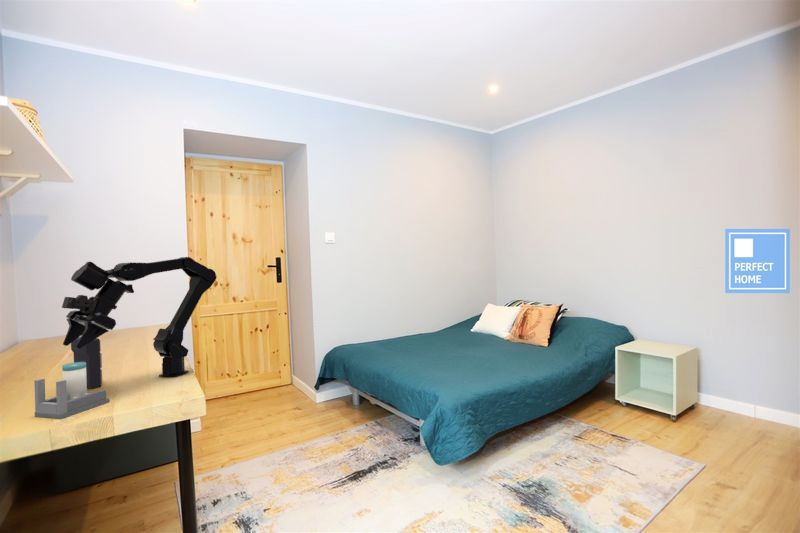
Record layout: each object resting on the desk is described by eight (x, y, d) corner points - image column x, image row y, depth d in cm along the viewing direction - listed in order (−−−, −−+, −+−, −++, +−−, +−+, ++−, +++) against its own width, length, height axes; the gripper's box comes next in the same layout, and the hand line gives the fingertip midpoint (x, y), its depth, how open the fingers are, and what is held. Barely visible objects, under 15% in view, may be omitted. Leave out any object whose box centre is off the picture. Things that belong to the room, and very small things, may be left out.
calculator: (104, 386, 123) (102, 338, 123) (87, 390, 119) (86, 340, 119) (88, 381, 128) (86, 335, 128) (72, 385, 125) (70, 338, 125)
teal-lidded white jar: (77, 400, 106) (76, 361, 106) (92, 401, 105) (90, 362, 105) (58, 406, 101) (57, 366, 101) (73, 407, 100) (71, 366, 100)
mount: (84, 400, 110) (83, 367, 110) (109, 401, 107) (108, 369, 107) (34, 416, 98) (33, 380, 98) (61, 418, 96) (60, 381, 96)
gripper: (67, 284, 118) (28, 331, 110) (93, 284, 108) (52, 336, 100) (103, 302, 125) (69, 348, 118) (131, 304, 115) (95, 354, 108)
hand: (70, 346), depth 111 cm, fingers open, 9 cm apart
